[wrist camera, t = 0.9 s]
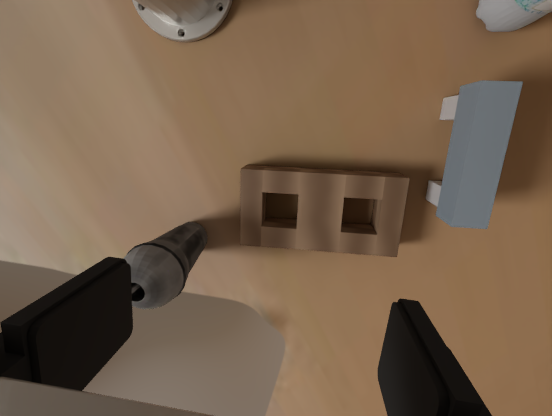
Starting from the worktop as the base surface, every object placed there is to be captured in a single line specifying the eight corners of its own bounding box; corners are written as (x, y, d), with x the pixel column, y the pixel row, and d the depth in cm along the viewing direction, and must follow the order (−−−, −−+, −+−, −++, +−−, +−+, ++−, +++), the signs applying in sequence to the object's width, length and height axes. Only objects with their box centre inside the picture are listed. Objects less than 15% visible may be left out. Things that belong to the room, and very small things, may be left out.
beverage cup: (222, 255, 45) (157, 353, 26) (177, 262, 46) (82, 361, 27) (209, 208, 43) (128, 276, 24) (162, 217, 44) (50, 288, 25)
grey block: (440, 91, 36) (481, 80, 27) (471, 92, 36) (522, 81, 27) (420, 204, 40) (451, 226, 31) (448, 206, 39) (487, 229, 31)
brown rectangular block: (246, 234, 43) (240, 244, 40) (247, 164, 41) (240, 168, 37) (388, 244, 42) (396, 257, 38) (399, 173, 39) (409, 178, 35)
